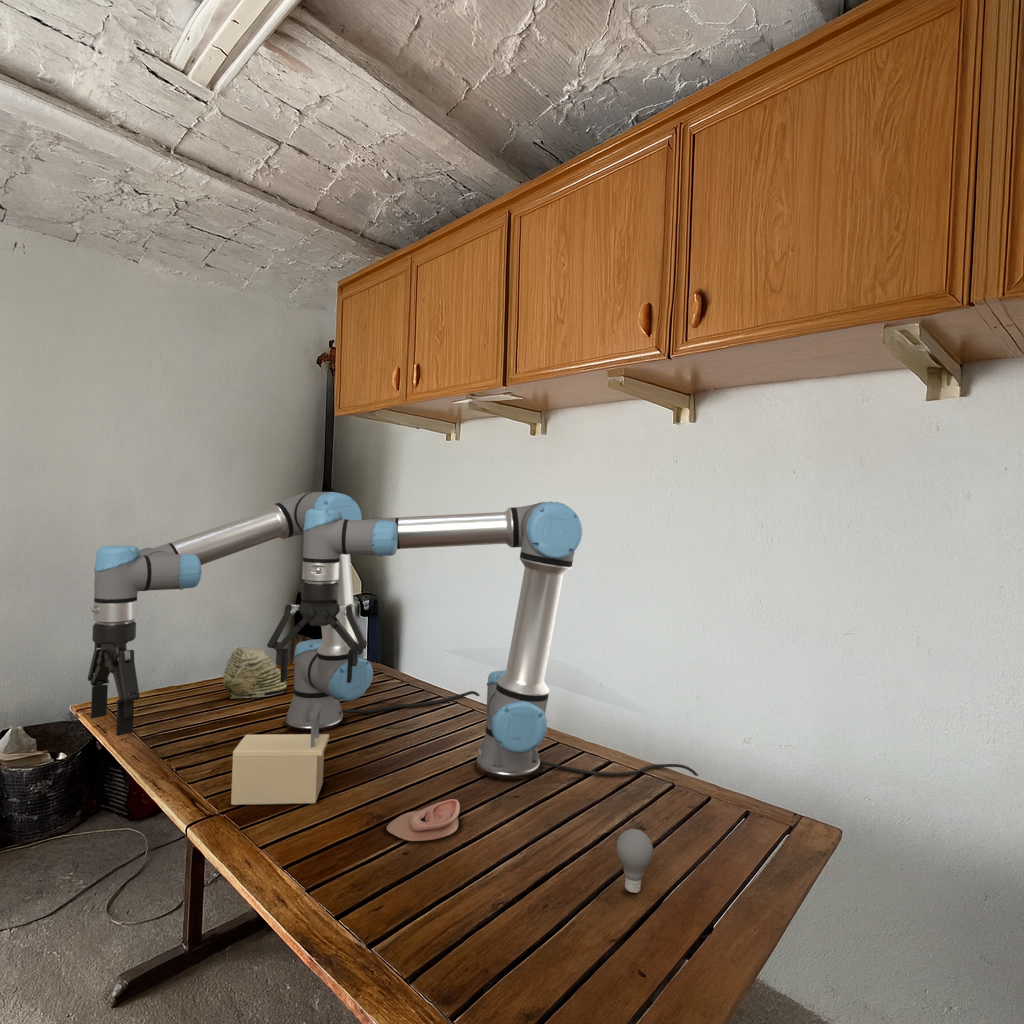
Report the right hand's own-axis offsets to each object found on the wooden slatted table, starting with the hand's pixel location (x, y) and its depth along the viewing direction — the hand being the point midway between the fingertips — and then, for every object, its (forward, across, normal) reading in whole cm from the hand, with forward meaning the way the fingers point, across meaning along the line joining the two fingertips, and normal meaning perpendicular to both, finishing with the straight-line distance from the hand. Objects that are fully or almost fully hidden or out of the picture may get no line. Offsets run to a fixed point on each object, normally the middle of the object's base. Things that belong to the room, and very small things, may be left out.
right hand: (316, 681), depth 135 cm
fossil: (+24, -29, +67) cm, 77 cm away
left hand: (+9, -40, 0) cm, 42 cm away
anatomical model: (+24, +24, -15) cm, 37 cm away
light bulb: (+24, +58, -38) cm, 73 cm away
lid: (+14, -6, 0) cm, 16 cm away
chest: (+24, -7, 0) cm, 25 cm away
